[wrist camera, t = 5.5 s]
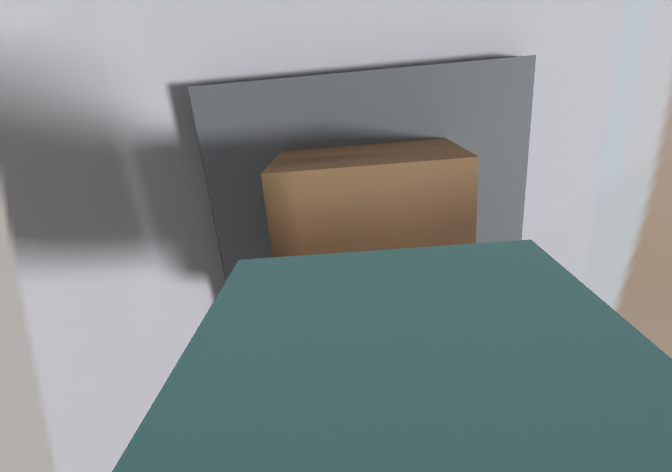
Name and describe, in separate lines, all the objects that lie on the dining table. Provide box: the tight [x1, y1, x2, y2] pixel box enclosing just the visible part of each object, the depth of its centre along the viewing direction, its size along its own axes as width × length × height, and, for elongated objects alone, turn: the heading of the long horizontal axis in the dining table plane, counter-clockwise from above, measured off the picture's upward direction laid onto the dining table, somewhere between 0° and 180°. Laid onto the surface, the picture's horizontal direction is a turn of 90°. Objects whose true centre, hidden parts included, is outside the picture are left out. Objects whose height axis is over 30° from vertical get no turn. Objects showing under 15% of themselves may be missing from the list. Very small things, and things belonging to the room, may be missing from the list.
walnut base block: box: [261, 138, 479, 257], centre depth 14 cm, size 6×6×4 cm
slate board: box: [188, 55, 536, 280], centre depth 17 cm, size 11×12×1 cm
